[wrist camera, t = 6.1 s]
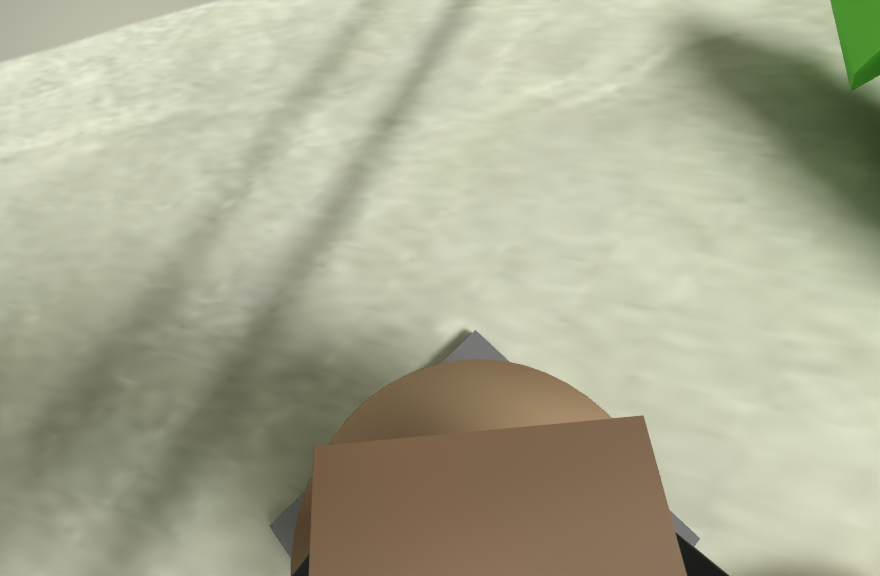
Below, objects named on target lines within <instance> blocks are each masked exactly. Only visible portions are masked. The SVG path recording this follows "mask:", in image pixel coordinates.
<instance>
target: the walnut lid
mask: <svg viewBox="0 0 880 576" xmlns="http://www.w3.org/2000/svg"><path fill="white" fill-rule="evenodd" d="M675 532H676V531H675V527H674V524H673V521H672V518H671V515H670V511H669V508H668V504H667V500H666V497H665V493H664V489H663V486H662V482H661V478H660V475H659V471H658V467H657V464H656V460H655V456H654V453H653V449H652V445H651V442H650V438H649V434H648V431H647V427H646V423H645V420H644V416H634V417H623V418H611V417H610V416H609V415H608V414H607V413H606V412H605V411H604V410H603V409H602V408H601V407H599V406H598V405H597V404H596V403H595V402H593V401H592V400H591V399H590V398H588V397H587V396H586V395H584V394H583V393H581V392H580V391H578V390H577V389H575V388H574V387H572V386H570V385H569V384H567V383H565V382H563V381H561V380H559V379H557V378H555V377H553V376H551V375H549V374H547V373H545V372H542V371H539V370H536V369H533V368H531V367H528V366H525V365H520V364H516V363H511V362H507V361H499V360H488V359H468V360H457V361H450V362H444V363H439V364H436V365H432V366H429V367H426V368H422V369H419V370H417V371H415V372H412V373H410V374H408V375H406V376H403V377H401V378H399V379H398V380H396V381H394V382H393V383H391V384H389V385H388V386H386V387H384V388H382V389H381V390H380V391H378V392H377V393H376V394H375V395H373V396H372V397H371V398H369V399H368V400H367V401H366V402H364V403H363V404H362V405H361V406H360V407H359V408H358V409H357V410H356V411H355V412H354V413H353V414H352V415H351V416H350V417H349V418H348V419H347V420H346V422H345V423H344V424H343V425H342V427H341V428H340V429H339V430H338V432H337V433H336V434H335V435H334V437H333V438H332V440H331V441H330V443H329V444H328V445H323V446H314V460H313V474H312V476H311V478H310V480H309V482H308V485H307V488H306V491H305V494H304V497H303V500H302V503H301V506H300V509H299V514H298V518H297V523H296V527H295V532H294V539H293V548H292V557H291V575H292V574H293V573H294V572H295V570H296V569H297V568H298V566H299V565H300V564H301V563H302V561H303V560H304V559H305V557H306V556H307V555H308V553H309V552H310V558H309V576H687V573H686V570H685V566H684V562H683V559H682V555H681V551H680V548H679V544H678V540H677V537H676V533H675Z"/></svg>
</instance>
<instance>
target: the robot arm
mask: <svg viewBox="0 0 880 576" xmlns="http://www.w3.org/2000/svg"><path fill="white" fill-rule="evenodd" d="M675 533H676V537H677V540H678V544H679V548H680V551H681V555H682V559H683V562H684V566H685V570H686V573H687V576H729V575H728V574H727V573H726V572H724V571H723V570H722V569H721V568H719V567H718V566H717V565H716V564H715V563H713V562H712V561H711V560H710V559H708V558H707V557H706V556H705V555H704V554H702V553H701V552H700V551H699V550H697V549H696V548H695V547H694V546H692V545H691V544H690V543H689V542H688V541H686V540H685V539H684V538H683V537H681V536H680V535H679V534H678V533H677V532H675ZM309 558H310V552H309V553H308V555H307V556H306V557H305V559H304V560H303V561H302V563H301V564H300V565H299V566H298V568H297V569H296V570H295V572H294V573H293V574H292V575H291V576H309Z"/></svg>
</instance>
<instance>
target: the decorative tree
mask: <svg viewBox="0 0 880 576" xmlns="http://www.w3.org/2000/svg"><path fill="white" fill-rule="evenodd" d="M830 1H831V5H832V10H833V14H834V18H835V23H836V27H837V31H838V36H839V40H840V44H841V49H842V53H843V58H844V62H845V66H846V71H847V75H848V79H849V84H850V88H851V91H852V90H853V89H855V88H857V87H859V86H861V85H863V84H864V83H866V82H868V81H870V80H872V79H874V78H875V77H877V76H879V75H880V0H830Z"/></svg>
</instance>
